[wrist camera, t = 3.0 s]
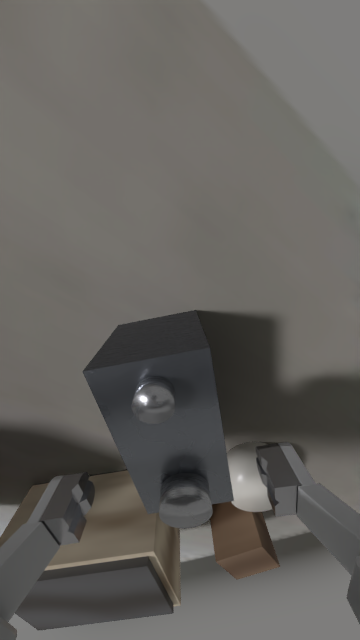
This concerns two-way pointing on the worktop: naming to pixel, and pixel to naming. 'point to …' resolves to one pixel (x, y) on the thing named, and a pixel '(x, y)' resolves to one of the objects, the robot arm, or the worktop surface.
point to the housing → (165, 415)
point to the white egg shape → (247, 478)
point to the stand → (105, 562)
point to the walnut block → (241, 541)
